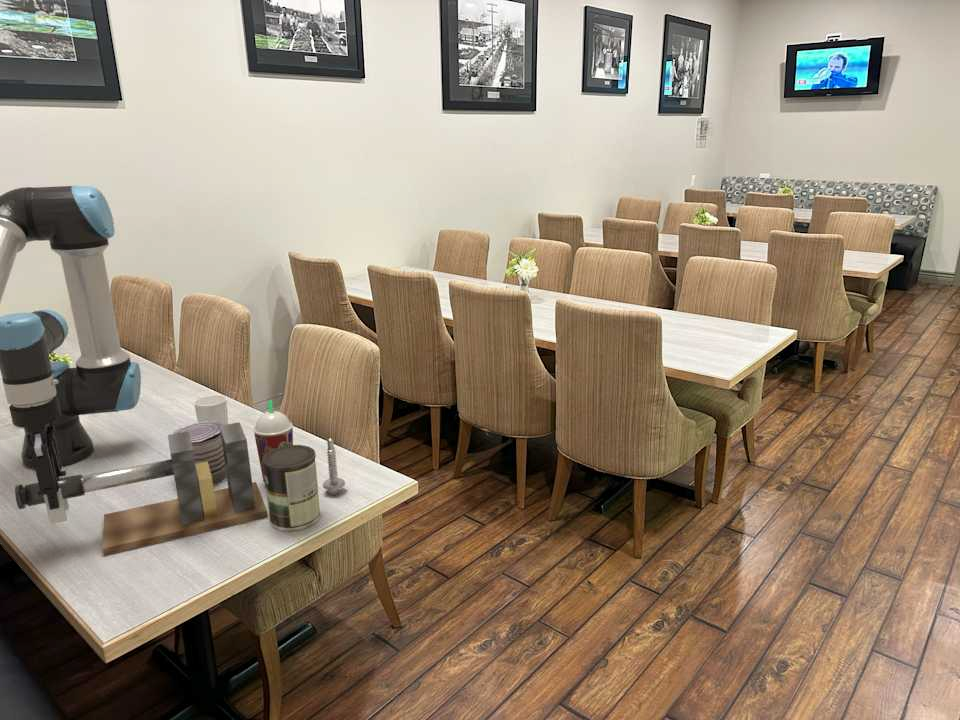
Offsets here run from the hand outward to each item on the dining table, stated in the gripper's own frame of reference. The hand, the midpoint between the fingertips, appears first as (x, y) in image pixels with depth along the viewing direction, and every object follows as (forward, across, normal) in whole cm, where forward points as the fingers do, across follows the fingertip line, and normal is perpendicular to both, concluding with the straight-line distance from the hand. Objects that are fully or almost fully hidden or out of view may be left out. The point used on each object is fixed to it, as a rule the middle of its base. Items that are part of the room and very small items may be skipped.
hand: (59, 515), depth 129 cm
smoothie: (+7, +7, -41) cm, 43 cm away
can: (+7, +18, -26) cm, 33 cm away
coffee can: (+7, -10, -41) cm, 43 cm away
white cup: (+7, +42, -31) cm, 53 cm away
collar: (+1, 0, -26) cm, 26 cm away
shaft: (-3, 0, -8) cm, 9 cm away
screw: (+7, -3, -51) cm, 52 cm away
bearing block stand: (+7, 0, -21) cm, 22 cm away
